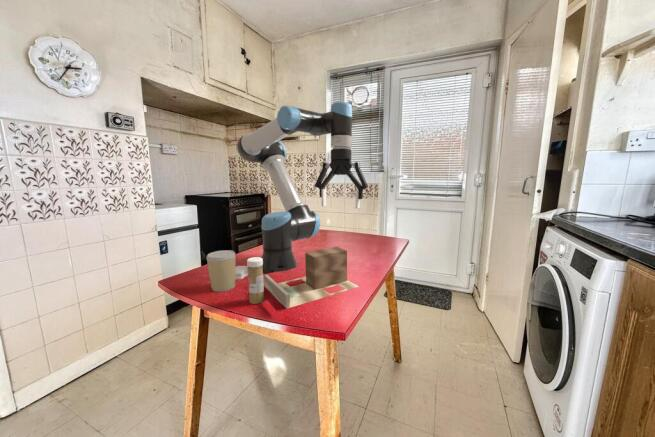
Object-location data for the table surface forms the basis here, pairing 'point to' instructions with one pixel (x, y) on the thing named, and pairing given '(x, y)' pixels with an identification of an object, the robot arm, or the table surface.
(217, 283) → the coffee cup
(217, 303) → the table surface
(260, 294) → the sprinkles bottle
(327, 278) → the block
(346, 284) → the board
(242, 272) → the soap
